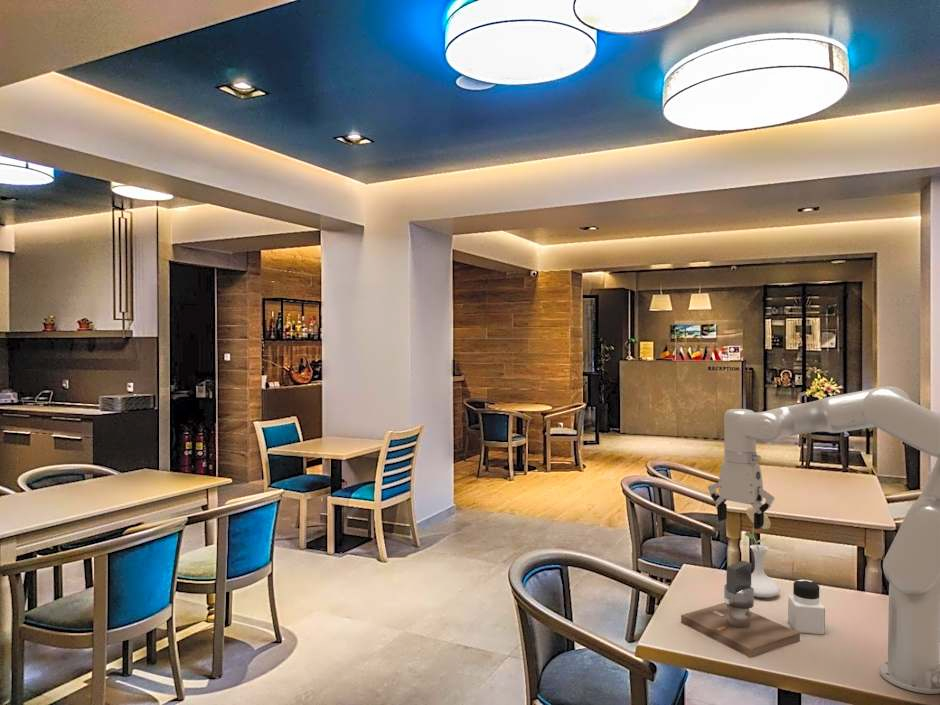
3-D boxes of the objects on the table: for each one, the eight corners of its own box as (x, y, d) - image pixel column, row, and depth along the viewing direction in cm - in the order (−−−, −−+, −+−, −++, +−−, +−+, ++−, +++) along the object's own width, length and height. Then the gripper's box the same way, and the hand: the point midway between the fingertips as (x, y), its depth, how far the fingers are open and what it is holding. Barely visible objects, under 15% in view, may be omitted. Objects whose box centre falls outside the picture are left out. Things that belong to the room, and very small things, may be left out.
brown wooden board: (799, 640, 166) (800, 613, 166) (750, 657, 158) (750, 628, 158) (728, 608, 186) (728, 583, 186) (681, 622, 177) (681, 596, 177)
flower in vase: (788, 600, 191) (788, 514, 190) (749, 602, 190) (750, 515, 190) (764, 583, 204) (765, 502, 203) (728, 584, 203) (729, 503, 203)
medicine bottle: (825, 635, 169) (825, 588, 169) (795, 632, 171) (795, 586, 171) (816, 623, 176) (817, 578, 176) (787, 620, 178) (787, 576, 178)
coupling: (734, 595, 177) (734, 558, 176) (759, 603, 171) (759, 565, 171) (714, 604, 171) (714, 566, 171) (739, 613, 165) (739, 573, 165)
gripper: (780, 460, 166) (780, 528, 167) (716, 451, 180) (716, 514, 180) (766, 464, 161) (766, 534, 162) (701, 454, 175) (701, 519, 175)
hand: (739, 523), depth 171 cm, fingers open, 9 cm apart
